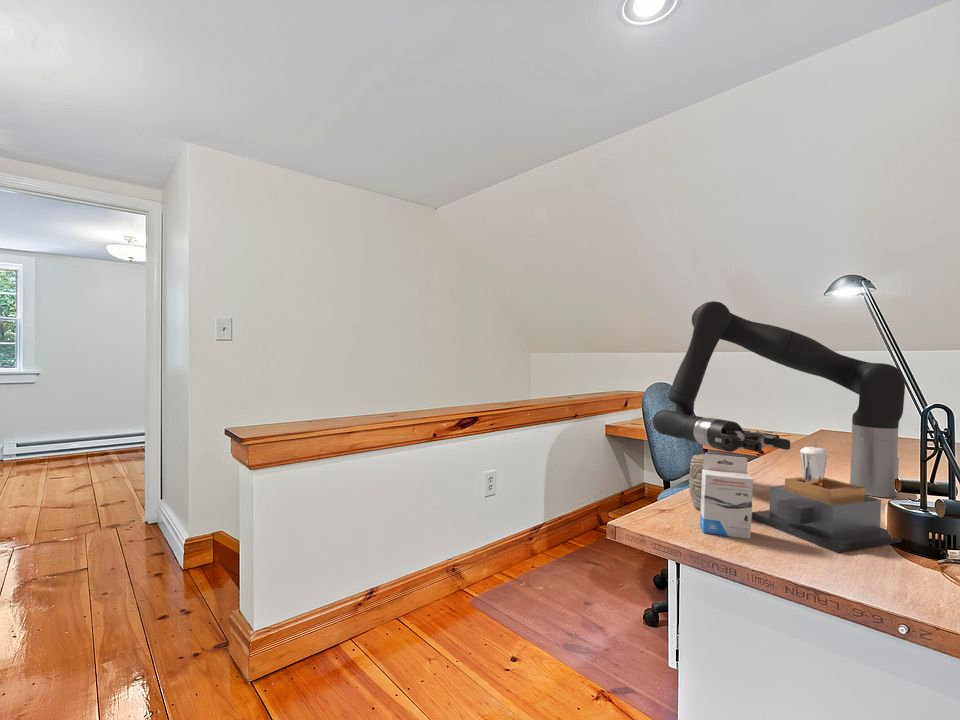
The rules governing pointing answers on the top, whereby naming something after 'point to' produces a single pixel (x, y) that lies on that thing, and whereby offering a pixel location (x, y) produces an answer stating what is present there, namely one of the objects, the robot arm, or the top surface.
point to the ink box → (726, 497)
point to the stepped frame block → (826, 515)
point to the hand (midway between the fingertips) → (775, 446)
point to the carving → (696, 479)
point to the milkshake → (813, 465)
